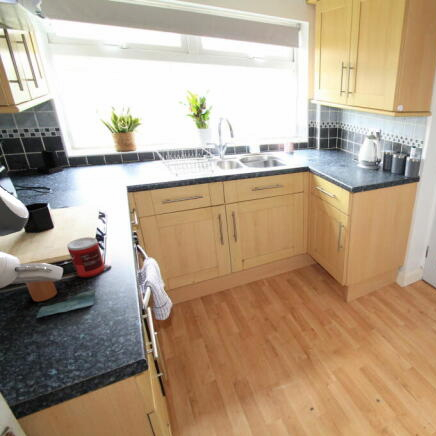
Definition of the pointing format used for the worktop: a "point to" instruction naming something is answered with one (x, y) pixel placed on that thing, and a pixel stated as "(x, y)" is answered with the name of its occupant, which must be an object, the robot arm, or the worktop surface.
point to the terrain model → (69, 304)
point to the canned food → (86, 257)
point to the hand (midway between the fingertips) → (35, 280)
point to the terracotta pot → (41, 290)
